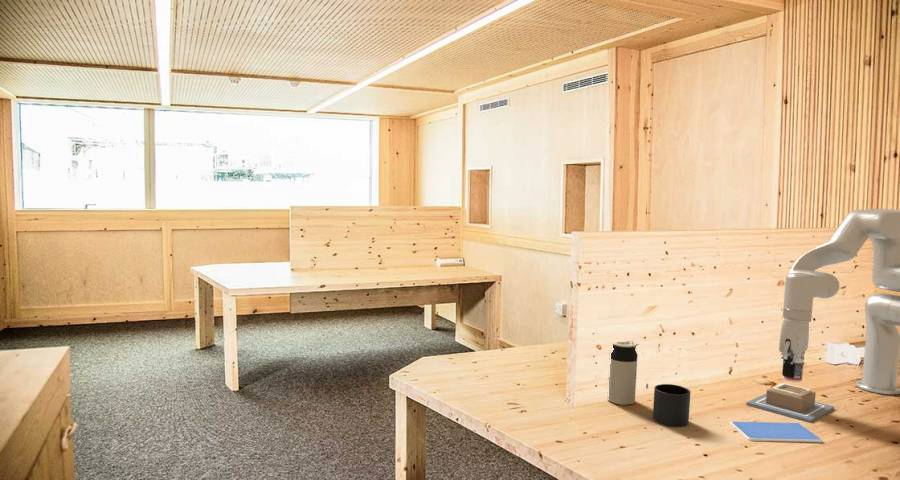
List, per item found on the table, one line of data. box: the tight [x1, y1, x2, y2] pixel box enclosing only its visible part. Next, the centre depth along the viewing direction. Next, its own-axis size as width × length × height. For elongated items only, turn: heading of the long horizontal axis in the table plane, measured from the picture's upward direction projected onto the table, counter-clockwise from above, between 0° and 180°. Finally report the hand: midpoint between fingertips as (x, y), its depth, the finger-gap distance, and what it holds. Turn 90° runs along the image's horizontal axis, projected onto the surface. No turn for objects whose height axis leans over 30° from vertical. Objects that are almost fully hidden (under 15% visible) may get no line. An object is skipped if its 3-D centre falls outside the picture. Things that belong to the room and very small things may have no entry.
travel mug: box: [607, 340, 638, 406], centre depth 196 cm, size 8×8×18 cm
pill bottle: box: [781, 351, 804, 383], centre depth 195 cm, size 5×5×9 cm
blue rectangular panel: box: [729, 421, 823, 444], centre depth 175 cm, size 19×13×1 cm, turn 89°
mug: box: [652, 383, 691, 428], centre depth 183 cm, size 9×12×9 cm
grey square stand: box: [745, 382, 835, 423], centre depth 196 cm, size 18×18×6 cm
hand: (792, 374), depth 195 cm, fingers closed on pill bottle, 5 cm apart
